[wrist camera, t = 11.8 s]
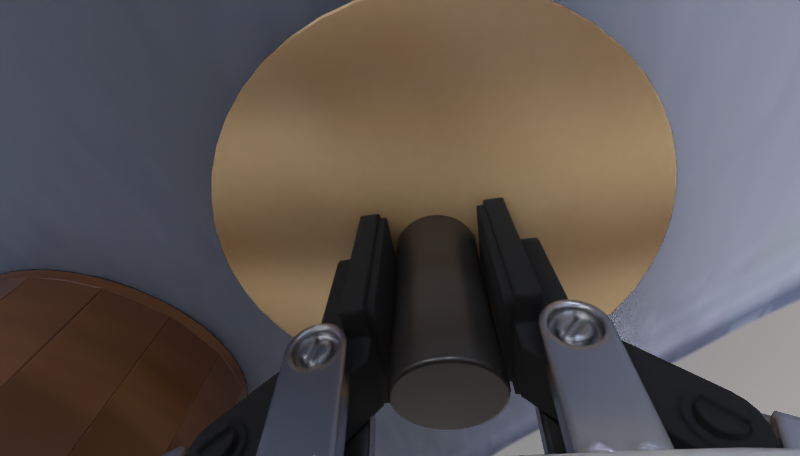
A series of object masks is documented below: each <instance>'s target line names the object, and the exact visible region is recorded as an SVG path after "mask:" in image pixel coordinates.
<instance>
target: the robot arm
mask: <svg viewBox="0 0 800 456" xmlns="http://www.w3.org/2000/svg"><path fill="white" fill-rule="evenodd" d="M477 223H478V238H479V252H480V263H481V267H482V271H483V275H484V280H485V284H486V288H487V292H488V296H489V300H490V304H491V308H492V313H493V317H494V321H495V325H496V329H497V333H498V337H499V342H500V346H501V350H502V354H503V358H504V362H505V366H506V370H507V375H508V379H509V381H512V382H513V386H514V390H515V394H521V396H522V397H523V398H525V399H526V400H528V401H529V402H531V403H532V404H534V405H535V408H536V415H537V419H538V424H539V429H540V434H541V438H542V443H543V448H544V453H545V454H544V455H520V456H800V418H799V417H795V416H792V415H788V414H785V413H781V412H777V411H774V412H773V414H772V415H771V416H769V415H766V414H762V413H760V411H758V410H757V409H756V408H755V407H753V406H752V405H751V404H750V403H749V402H747V401H746V400H745V399H743V398H741V397H740V396H737V395H736V394H734V393H733V392H731V391H729V390H727V389H724V388H722V387H720V386H718V385H716V384H714V383H712V382H710V381H707V380H705V379H703V378H701V377H699V376H697V375H695V374H693V373H690V372H688V371H686V370H684V369H682V368H680V367H677V366H675V365H673V364H671V363H669V362H667V361H665V360H663V359H660V358H658V357H656V356H654V355H652V354H650V353H648V352H646V351H643V350H641V349H639V348H637V347H635V346H633V345H631V344H628V343H626V342H624V341H622V340H621V339H620V337H619V335H618V332H617V330H616V328H615V326H614V324H613V322H612V321H611V320H610V318H609V317H608V315H607V314H606V313H604V312H603V311H602V310H601V309H599V308H598V307H596V306H594V305H592V304H589V303H587V302H583V301H579V300H569V299H568V297H567V295H566V293H565V291H564V289H563V287H562V285H561V283H560V281H559V279H558V277H557V275H556V273H555V271H554V269H553V267H552V265H551V263H550V261H549V259H548V257H547V255H546V253H545V251H544V249H543V247H542V245H541V243H540V241H539V239H538V238H536V237H534V238H526V239H520V237H519V235H518V233H517V230H516V228H515V225H514V223H513V221H512V218H511V216H510V214H509V211H508V209H507V206H506V204H505V202H504V199H503V198H502V197H501V198H494V199H486V200H483V205H478V206H477ZM395 270H396V256H395V251H394V247H393V242H392V238H391V234H390V229H389V225H388V221H387V218H381V217H380V215H379V214H373V215H366V216H361V217H360V221H359V225H358V229H357V233H356V238H355V242H354V246H353V250H352V254H351V259H349V260H341V261H339V263H338V265H337V269H336V272H335V276H334V279H333V283H332V286H331V290H330V294H329V297H328V301H327V304H326V308H325V312H324V315H323V319H322V322H321V323H320V324H316V325H312V326H310V327H308V328H306V329H304V330H302V331H301V332H300V333H298V334H297V335H296V336H295V337H294V338H293V339H292V340H291V341H290V343H289V344H288V346H287V349H286V351H285V354H284V357H283V361H282V365H281V368H280V371H279V372H278V373H277V374H275V375H274V376H273V377H272V378H270V379H269V380H268V381H266V382H265V383H264V384H262V385H261V386H260V387H258V388H257V389H256V390H254V391H253V392H252V393H250V394H249V395H248V396H247V397H245V398H244V399H243V400H241V401H240V402H239V403H237V404H236V405H235V406H233V407H232V408H231V409H229V410H228V411H227V412H225V413H224V414H223V415H222V416H220V417H219V418H218V419H216V420H215V421H214V422H212V423H211V424H210V425H208V426H207V427H206V428H205V429H204V430H203V431H202V432H201V433H200V434H199V435H198V436H197V438H196V439H195V440H194V442H193V443H192V444H191V446H190V447H189V448H187V449H186V448H185V447H184V446H183V445H182V446H180V447H177V448H175V449H173V450H171V451H169V452H167V453H165V454H163V455H161V456H375V413H376V412H377V411H378V410H379V409H380V408H382V407H383V406H384V403H390V401H389V398H388V378H389V363H390V347H391V332H392V316H393V301H394V285H395Z"/></svg>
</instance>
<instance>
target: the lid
mask: <svg viewBox="0 0 800 456" xmlns="http://www.w3.org/2000/svg"><path fill="white" fill-rule="evenodd" d="M676 178H677V160H676V154H675V147H674V141H673V134H672V131H671V128H670V125H669V122H668V119H667V116H666V113H665V110H664V107H663V104H662V102H661V100H660V98H659V97H658V95H657V93H656V91H655V89H654V88H653V86H652V84H651V82H650V81H649V79H648V77H647V75H646V74H645V73H644V71H643V70H642V69H641V68H640V67H639V65H638V64H637V63H636V62H635V61H634V59H633V58H632V57H631V56H630V55H629V53H628V52H627V51H626V50H625V49H624V47H622V46H621V45H620V44H619V43H618V42H616V41H615V40H614V39H613V38H612V37H610V36H609V35H608V34H607V33H606V32H604V31H603V30H602V29H601V28H600V27H598V26H597V25H596V24H594V23H593V22H591V21H589V20H587V19H586V18H584V17H582V16H580V15H579V14H577V13H575V12H573V11H572V10H570V9H568V8H567V7H565V6H563V5H561V4H558V3H556V2H553V1H550V0H354V1H352V2H349V3H347V4H345V5H343V6H341V7H339V8H337V9H335V10H332V11H330V12H328V13H326V14H324V15H322V16H320V17H318V18H317V19H315V20H314V21H312V22H311V23H309V24H308V25H307V26H305V27H304V28H302V29H301V30H299V31H298V32H296V33H295V34H293V35H292V36H290V37H289V38H288V39H287V40H285V41H284V42H283V43H282V44H281V45H280V46H279V47H278V48H277V49H276V50H275V51H274V52H273V53H272V54H271V55H270V56H268V57H267V58H266V59H265V60H264V61H263V62H262V63H261V64H260V66H259V67H258V68H257V70H256V71H255V72H254V74H253V75H252V76H251V77H250V79H249V80H248V81H247V83H246V84H245V85H244V87H243V88H242V89H241V91H240V93H239V94H238V96H237V98H236V100H235V102H234V104H233V106H232V108H231V109H230V111H229V113H228V115H227V117H226V119H225V122H224V125H223V128H222V131H221V134H220V137H219V140H218V143H217V146H216V151H215V157H214V163H213V169H212V194H211V202H212V209H213V215H214V222H215V228H216V231H217V234H218V237H219V241H220V244H221V247H222V250H223V252H224V255H225V257H226V259H227V261H228V263H229V265H230V267H231V270H232V272H233V273H234V275H235V276H236V278H237V280H238V281H239V283H240V284H241V286H242V287H243V289H244V291H245V292H246V293H247V294H248V295H249V297H250V298H251V299H252V300H253V301H254V303H255V304H256V305H257V306H258V308H259V309H260V310H261V311H262V312H264V313H265V314H266V315H267V316H268V317H269V318H270V319H271V320H272V321H273V322H274V323H275V324H276V325H278V326H279V327H280V328H281V329H283V330H284V331H285V332H287V333H288V334H289V335H290V336H292V337H293V338H294V337H295V336H296V335H297V334H298V333H300V332H301V331H302V330H304V329H306V328H308V327H310V326H312V325H316V324H320V323H321V322H322V319H323V315H324V312H325V308H326V304H327V301H328V297H329V294H330V290H331V286H332V283H333V279H334V276H335V272H336V269H337V265H338V263H339V261H341V260H349V259H351V254H352V250H353V246H354V242H355V238H356V233H357V229H358V225H359V221H360V217H361V216H366V215H373V214H379V215H380V217H381V218H387V221H388V225H389V229H390V234H391V238H392V242H393V247H394V251H395V256H396V270H395V285H394V301H393V316H392V332H391V347H390V363H389V378H388V398H389V401H390V403H391V406H392V407H393V409H394V410H395V411H396V412H397V413H398V414H399V415H400V416H401V417H403V418H404V419H406V420H407V421H409V422H412V423H414V424H417V425H419V426H423V427H427V428H432V429H441V430H455V429H464V428H469V427H473V426H477V425H480V424H483V423H485V422H487V421H489V420H491V419H493V418H494V417H496V416H497V415H499V414H500V413H501V412H502V411H503V410H504V408H505V407H506V405H507V404H508V401H509V398H510V393H511V388H510V383H509V379H508V375H507V370H506V366H505V362H504V358H503V354H502V350H501V346H500V342H499V337H498V333H497V329H496V325H495V321H494V317H493V313H492V308H491V304H490V300H489V296H488V292H487V288H486V284H485V280H484V275H483V271H482V267H481V263H480V252H479V238H478V223H477V206H478V205H483V200H486V199H494V198H501V197H502V198H503V199H504V202H505V204H506V206H507V209H508V211H509V214H510V216H511V218H512V221H513V223H514V225H515V228H516V230H517V233H518V235H519V237H520V239H526V238H534V237H536V238H538V239H539V241H540V243H541V245H542V247H543V249H544V251H545V253H546V255H547V257H548V259H549V261H550V263H551V265H552V267H553V269H554V271H555V273H556V275H557V277H558V279H559V281H560V283H561V285H562V287H563V289H564V291H565V293H566V295H567V297H568V299H569V300H579V301H583V302H587V303H589V304H592V305H594V306H596V307H598V308H599V309H601V310H602V311H603V312H604V313H606V314H607V315H608V316H609V315H610V314H611V313H612V312H613V311H614V310H615V309H616V308H617V307H619V306H620V305H621V304H622V302H623V301H624V300H625V299H626V298H627V297H628V296H629V294H630V293H631V292H632V291H633V290H634V289H635V288H636V286H637V285H638V284H639V282H640V281H641V279H642V278H643V276H644V275H645V273H646V272H647V270H648V269H649V268H650V266H651V264H652V262H653V260H654V258H655V256H656V255H657V253H658V251H659V249H660V247H661V245H662V243H663V240H664V237H665V234H666V231H667V229H668V226H669V223H670V220H671V216H672V211H673V206H674V200H675V195H676Z"/></svg>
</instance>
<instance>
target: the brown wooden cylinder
mask: <svg viewBox="0 0 800 456" xmlns="http://www.w3.org/2000/svg"><path fill="white" fill-rule="evenodd" d="M245 397H247V388H246V382H245V379H244V376H243V373H242V371H241V369H240V367H239V365H238V364H237V362H236V360H235V359H234V358H233V356H232V355H231V354H230V352H229V351H228V350H227V349H226V348H225V347H224V346H223V345H222V343H221V342H220V341H219V340H218V339H217V338H216V337H215V336H213V335H212V334H211V333H210V332H209V331H207V330H206V329H205V328H204V327H203V326H201V325H200V324H198V323H197V322H196V321H194V320H193V319H191V318H190V317H188V316H187V315H185V314H184V313H182V312H180V311H179V310H177V309H175V308H173V307H172V306H170V305H168V304H166V303H164V302H162V301H160V300H158V299H156V298H154V297H152V296H150V295H147V294H145V293H143V292H140V291H137V290H135V289H132V288H130V287H127V286H125V285H121V284H118V283H115V282H111V281H108V280H105V279H101V278H97V277H92V276H88V275H83V274H78V273H71V272H63V271H55V270H24V271H13V272H9V273H4V274H0V456H161V455H163V454H165V453H167V452H169V451H171V450H173V449H175V448H177V447H180V446H182V445H183V446H184V447H185V448H186V449H187V448H189V447H190V446H191V444H192V443H193V442H194V440H195V439H196V438H197V436H198V435H199V434H200V433H201V432H202V431H203V430H204V429H205V428H206V427H207V426H208V425H210V424H211V423H212V422H214V421H215V420H216V419H218V418H219V417H220V416H222V415H223V414H224V413H225V412H227V411H228V410H229V409H231V408H232V407H233V406H235V405H236V404H237V403H239V402H240V401H241V400H243V399H244V398H245Z"/></svg>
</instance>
